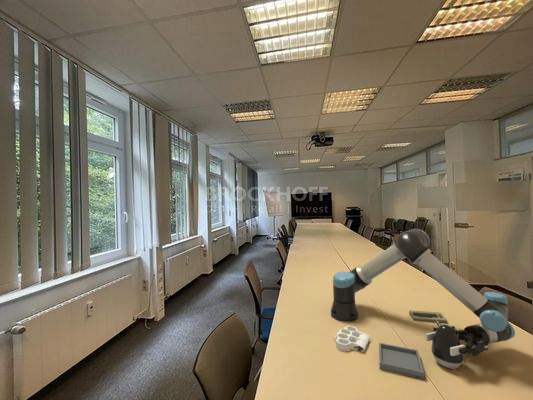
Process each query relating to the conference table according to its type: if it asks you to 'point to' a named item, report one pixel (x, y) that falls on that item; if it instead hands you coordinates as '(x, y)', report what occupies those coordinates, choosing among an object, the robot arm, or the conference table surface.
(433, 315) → the computer
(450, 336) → the pump dispenser
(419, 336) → the conference table surface
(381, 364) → the holder tray
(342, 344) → the knuckle duster
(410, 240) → the robot arm
